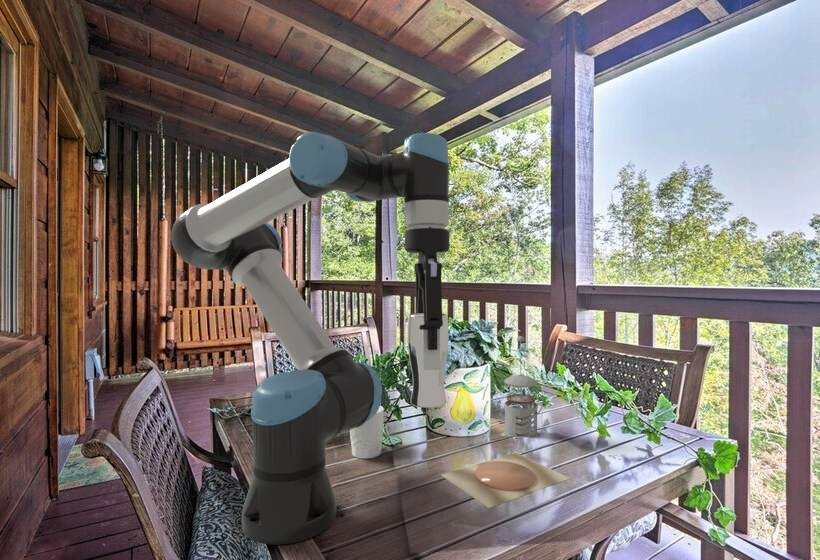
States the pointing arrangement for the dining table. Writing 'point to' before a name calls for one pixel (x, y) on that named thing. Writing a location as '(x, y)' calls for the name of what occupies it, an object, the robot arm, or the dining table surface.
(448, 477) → the beige mat with oval
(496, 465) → the coaster
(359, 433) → the white cup
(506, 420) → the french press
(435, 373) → the beer glass
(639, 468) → the dining table surface
